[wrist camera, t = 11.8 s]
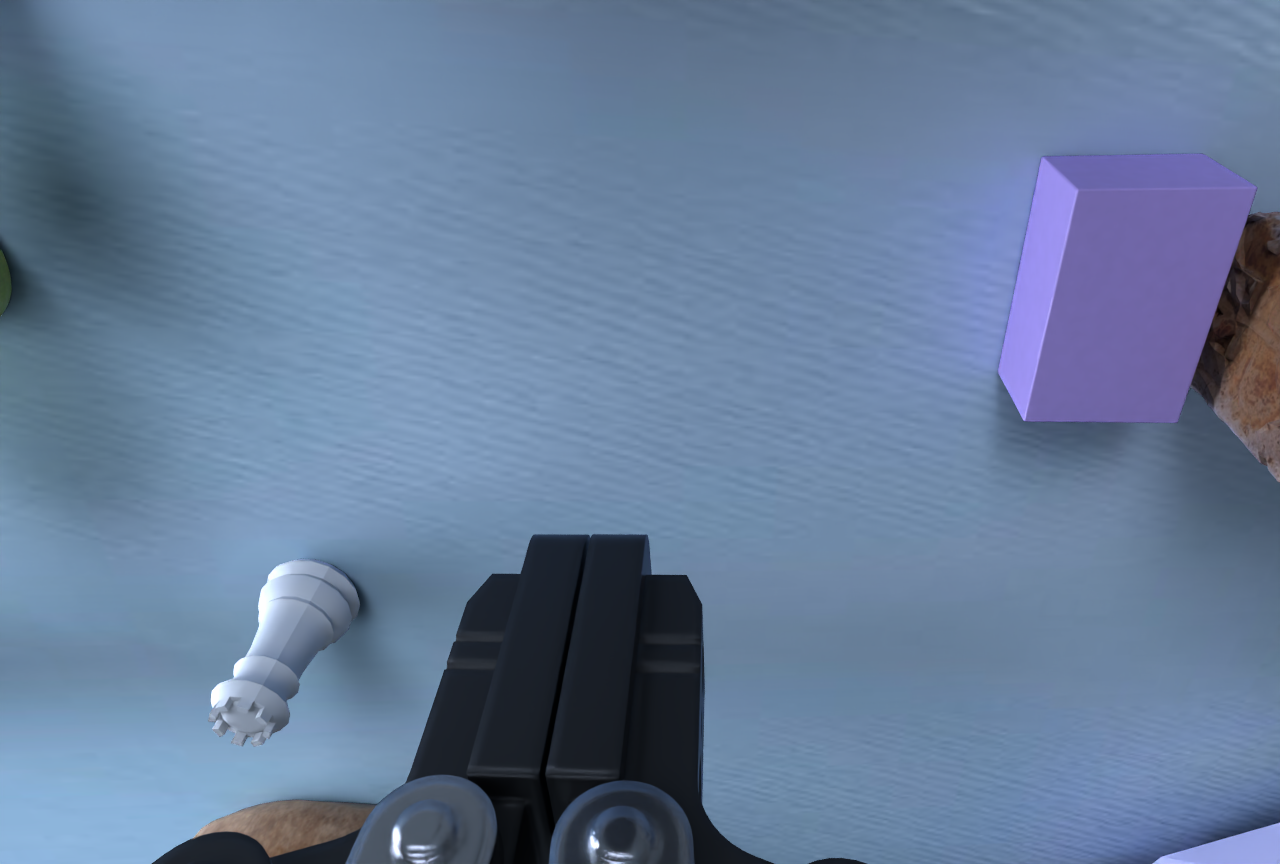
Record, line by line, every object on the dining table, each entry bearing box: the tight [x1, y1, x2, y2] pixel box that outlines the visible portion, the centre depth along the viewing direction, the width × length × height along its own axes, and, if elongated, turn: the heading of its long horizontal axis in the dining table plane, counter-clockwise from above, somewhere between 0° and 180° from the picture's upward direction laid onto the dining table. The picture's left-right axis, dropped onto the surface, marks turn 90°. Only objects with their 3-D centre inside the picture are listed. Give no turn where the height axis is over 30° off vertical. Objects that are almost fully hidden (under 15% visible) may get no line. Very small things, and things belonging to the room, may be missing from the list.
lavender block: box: [998, 154, 1257, 423], centre depth 29 cm, size 8×5×4 cm, turn 2°
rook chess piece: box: [208, 559, 360, 747], centre depth 39 cm, size 4×4×8 cm
